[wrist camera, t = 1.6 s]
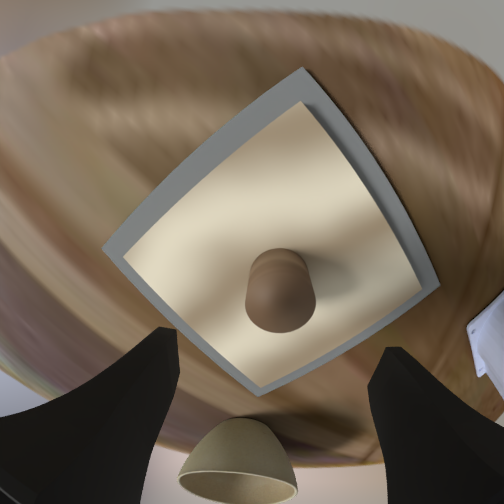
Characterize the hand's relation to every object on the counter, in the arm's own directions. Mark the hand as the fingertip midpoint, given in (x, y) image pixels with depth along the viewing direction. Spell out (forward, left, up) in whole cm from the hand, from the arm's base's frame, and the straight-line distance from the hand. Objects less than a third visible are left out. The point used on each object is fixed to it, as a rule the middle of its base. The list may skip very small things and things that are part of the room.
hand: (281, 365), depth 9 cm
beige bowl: (-12, +13, -8) cm, 20 cm away
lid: (0, 0, -8) cm, 8 cm away
